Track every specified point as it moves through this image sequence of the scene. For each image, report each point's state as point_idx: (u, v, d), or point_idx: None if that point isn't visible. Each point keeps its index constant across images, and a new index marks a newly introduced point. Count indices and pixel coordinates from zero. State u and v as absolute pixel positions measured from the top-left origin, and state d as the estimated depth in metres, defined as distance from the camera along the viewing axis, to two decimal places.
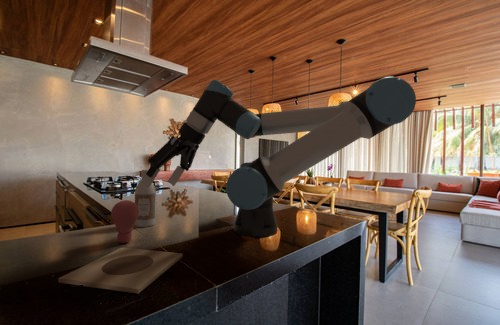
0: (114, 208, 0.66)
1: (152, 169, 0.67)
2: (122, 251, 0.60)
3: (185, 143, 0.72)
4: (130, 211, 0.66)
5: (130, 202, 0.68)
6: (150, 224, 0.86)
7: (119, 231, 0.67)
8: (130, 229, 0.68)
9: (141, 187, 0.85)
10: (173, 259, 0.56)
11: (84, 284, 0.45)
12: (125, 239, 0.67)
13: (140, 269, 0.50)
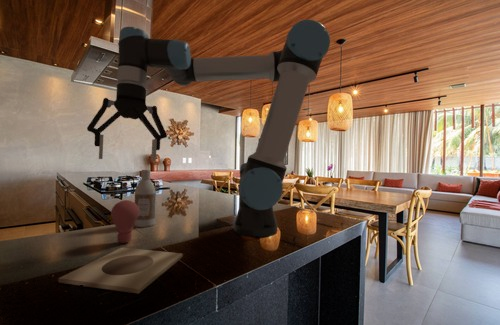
0: (114, 208, 0.66)
1: None
2: (122, 251, 0.60)
3: (123, 102, 0.67)
4: (130, 211, 0.66)
5: (130, 202, 0.68)
6: (150, 224, 0.86)
7: (119, 231, 0.67)
8: (130, 229, 0.68)
9: (141, 187, 0.85)
10: (173, 259, 0.56)
11: (84, 284, 0.45)
12: (125, 239, 0.67)
13: (140, 269, 0.50)
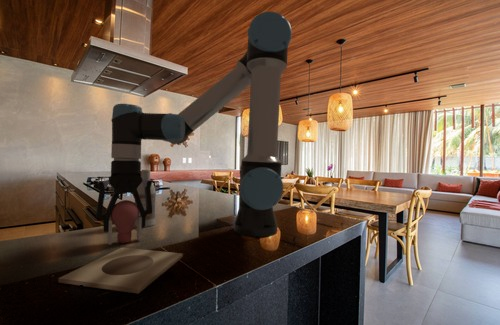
0: (114, 208, 0.66)
1: (103, 223, 0.66)
2: (122, 251, 0.60)
3: (117, 177, 0.66)
4: (130, 211, 0.66)
5: (130, 202, 0.68)
6: (150, 224, 0.86)
7: (119, 231, 0.67)
8: (130, 229, 0.68)
9: (141, 187, 0.85)
10: (173, 259, 0.56)
11: (84, 284, 0.45)
12: (125, 239, 0.67)
13: (140, 269, 0.50)
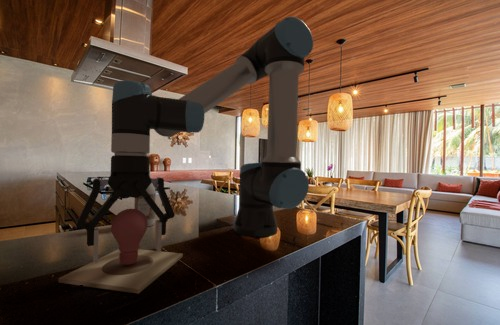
0: (115, 220, 0.50)
1: (87, 233, 0.48)
2: None
3: (119, 179, 0.51)
4: (136, 224, 0.51)
5: (136, 211, 0.52)
6: (150, 224, 0.86)
7: (122, 250, 0.51)
8: (136, 247, 0.52)
9: None
10: (173, 259, 0.56)
11: (84, 284, 0.45)
12: (130, 260, 0.51)
13: (140, 269, 0.50)
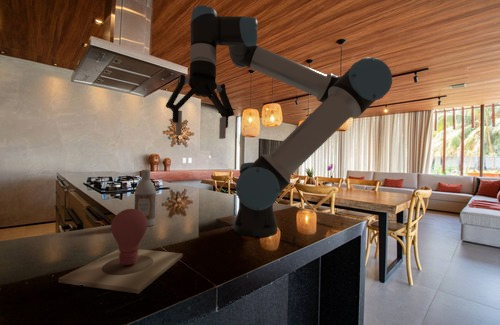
0: (115, 220, 0.50)
1: (173, 113, 0.66)
2: None
3: (197, 79, 0.69)
4: (136, 224, 0.50)
5: (136, 211, 0.52)
6: (150, 224, 0.86)
7: (122, 250, 0.51)
8: (136, 247, 0.52)
9: (141, 187, 0.85)
10: (173, 259, 0.56)
11: (84, 284, 0.45)
12: (130, 260, 0.51)
13: (140, 269, 0.50)
